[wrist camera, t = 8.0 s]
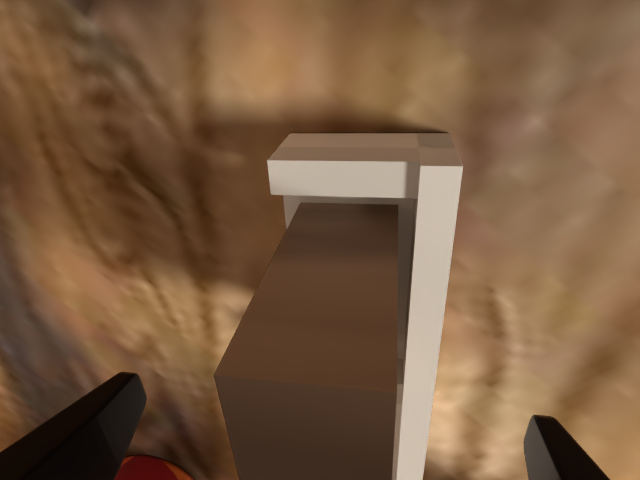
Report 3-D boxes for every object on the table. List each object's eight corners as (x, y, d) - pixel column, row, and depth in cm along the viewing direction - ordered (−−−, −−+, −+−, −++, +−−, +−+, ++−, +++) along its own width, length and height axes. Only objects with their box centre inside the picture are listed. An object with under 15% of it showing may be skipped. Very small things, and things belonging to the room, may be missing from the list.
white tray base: (450, 133, 13) (463, 166, 10) (413, 469, 21) (415, 534, 18) (290, 133, 13) (263, 163, 11) (316, 456, 22) (304, 517, 19)
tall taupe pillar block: (297, 202, 13) (209, 374, 7) (398, 204, 12) (397, 393, 6) (309, 336, 16) (252, 544, 10) (391, 343, 15) (387, 566, 9)
